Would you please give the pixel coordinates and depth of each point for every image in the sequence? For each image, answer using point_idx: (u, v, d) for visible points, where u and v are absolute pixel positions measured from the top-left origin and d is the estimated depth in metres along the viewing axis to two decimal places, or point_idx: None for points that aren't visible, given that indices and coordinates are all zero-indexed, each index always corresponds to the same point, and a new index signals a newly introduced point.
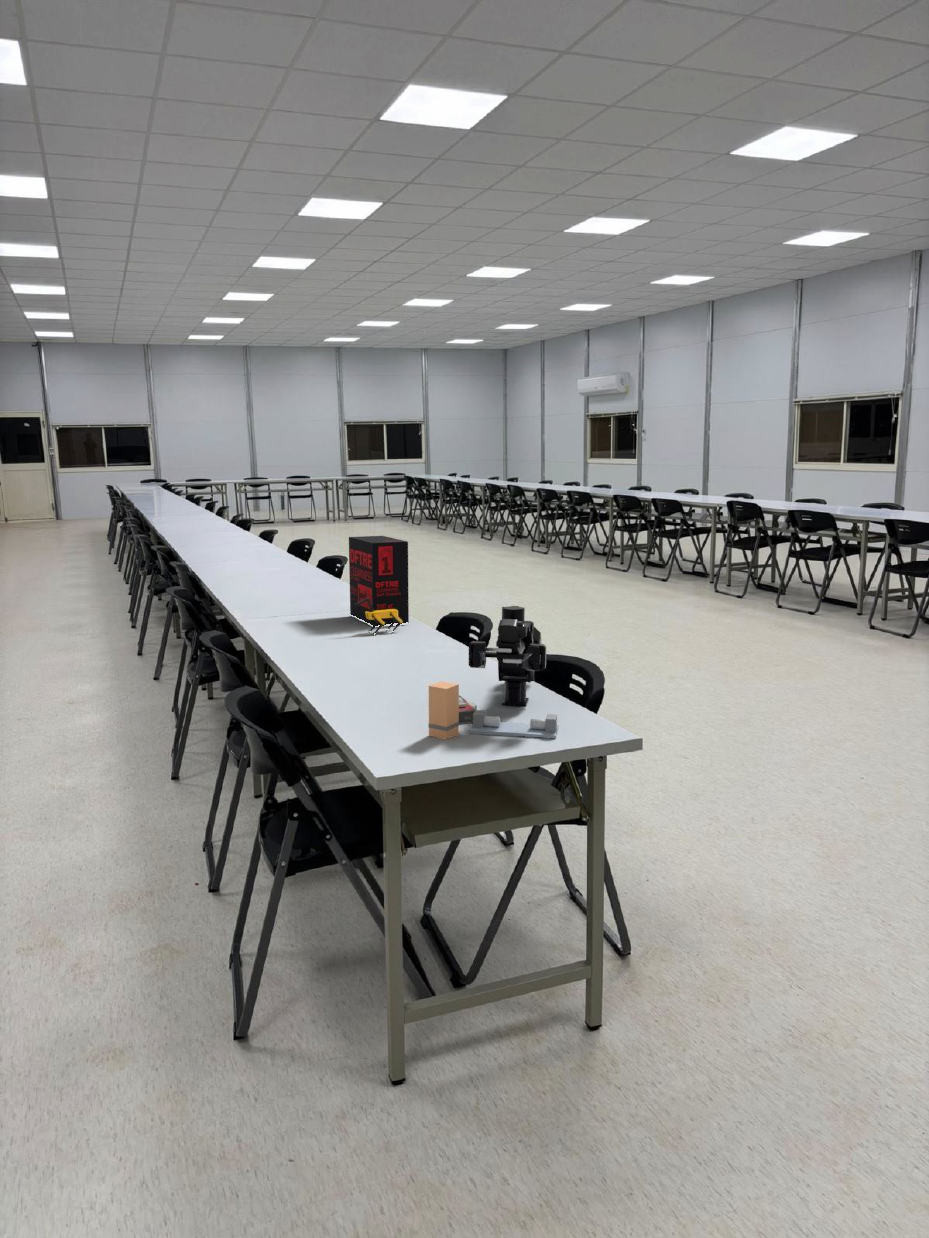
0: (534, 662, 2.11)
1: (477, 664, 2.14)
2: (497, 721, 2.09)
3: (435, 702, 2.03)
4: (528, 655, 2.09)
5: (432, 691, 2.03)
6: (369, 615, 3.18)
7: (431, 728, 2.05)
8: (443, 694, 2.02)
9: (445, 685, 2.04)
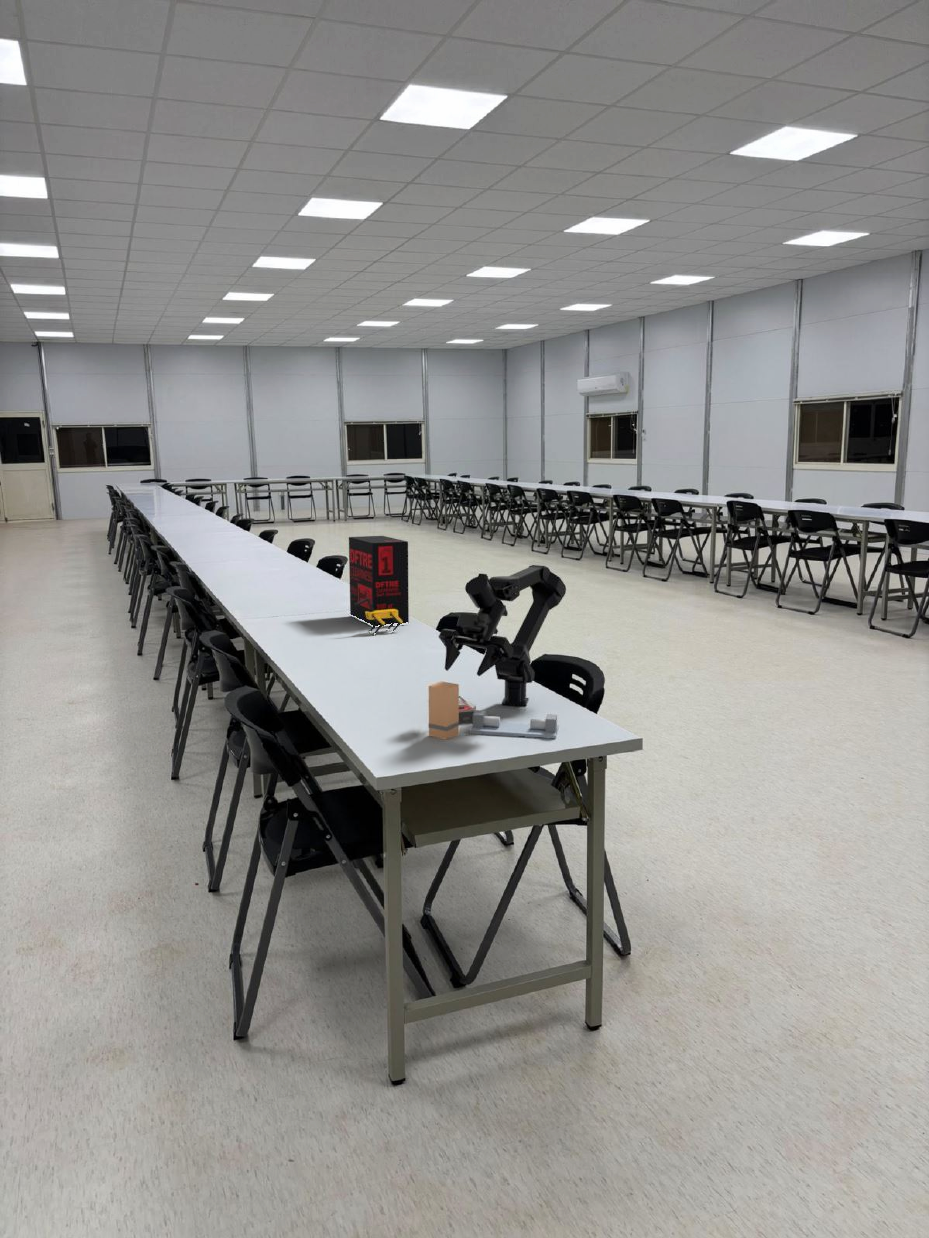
0: (497, 656, 2.10)
1: None
2: (497, 721, 2.09)
3: (435, 702, 2.03)
4: (486, 657, 2.08)
5: (432, 691, 2.03)
6: (369, 615, 3.18)
7: (431, 728, 2.05)
8: (443, 694, 2.02)
9: (445, 685, 2.04)
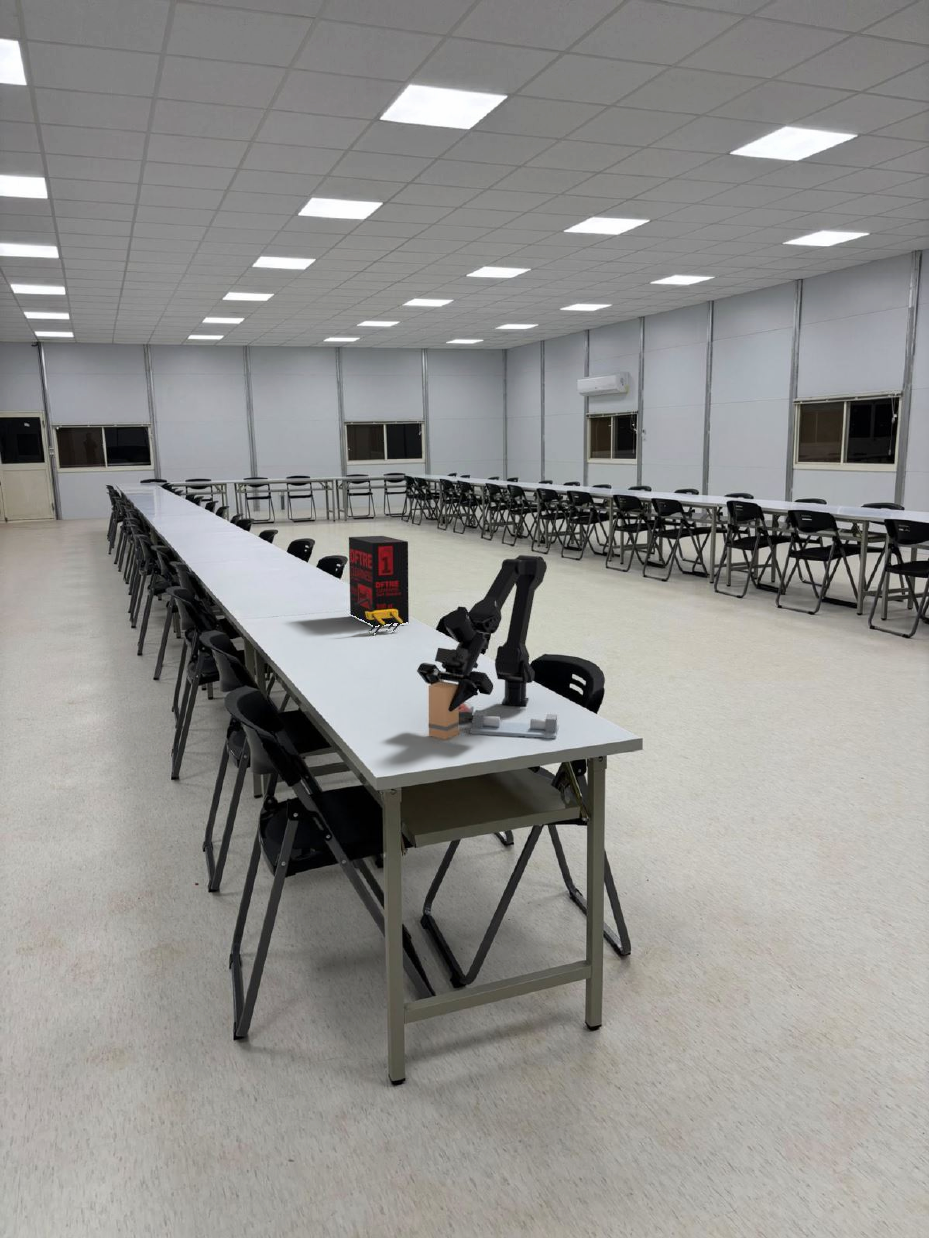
0: (470, 690, 2.05)
1: None
2: (497, 721, 2.09)
3: (435, 702, 2.03)
4: (458, 692, 2.03)
5: (432, 691, 2.03)
6: (369, 615, 3.18)
7: (431, 728, 2.05)
8: (443, 694, 2.02)
9: (445, 685, 2.04)
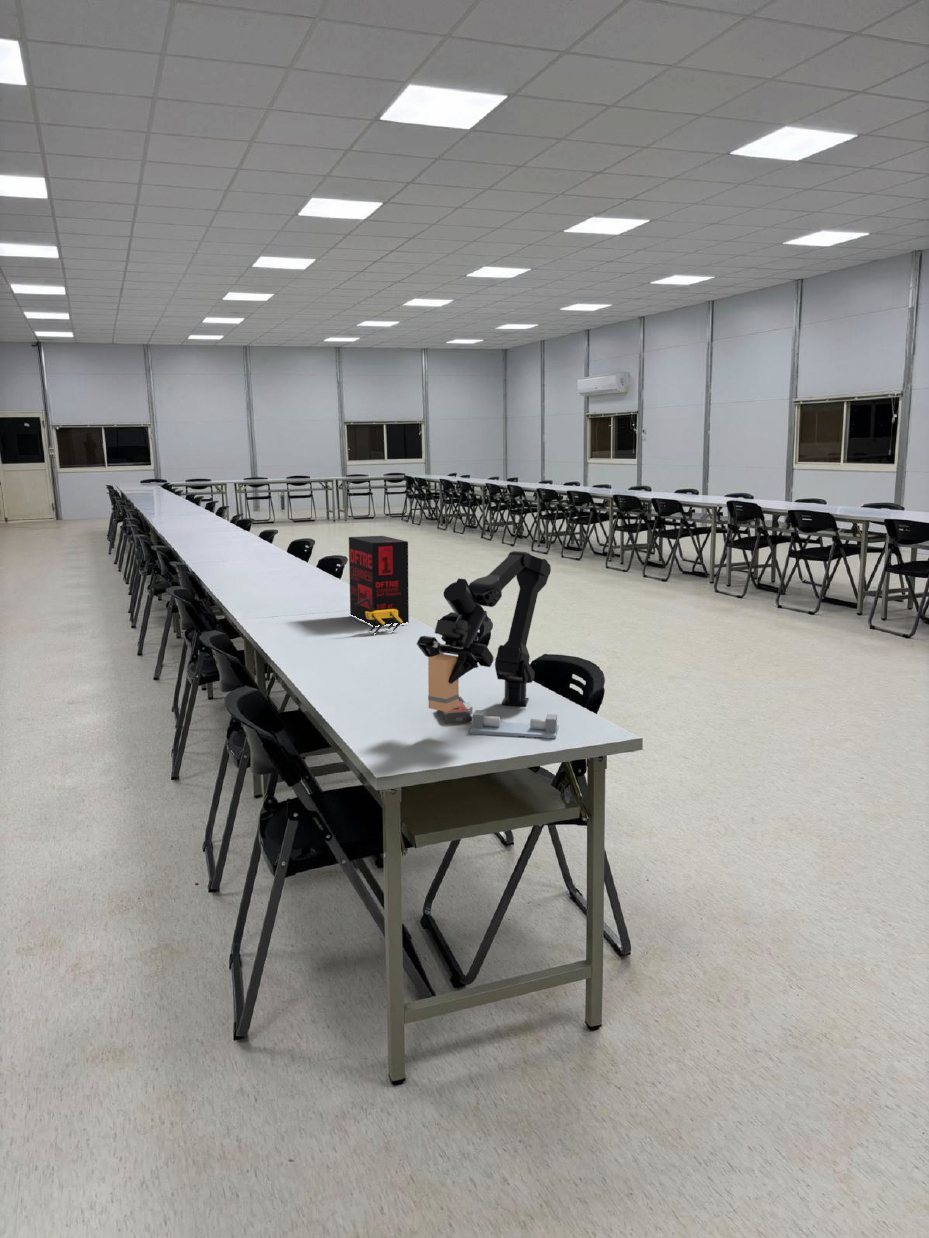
0: (470, 662, 2.04)
1: None
2: (497, 721, 2.09)
3: (435, 674, 2.02)
4: (458, 665, 2.02)
5: (432, 663, 2.02)
6: (369, 615, 3.18)
7: (431, 701, 2.04)
8: (443, 666, 2.00)
9: (445, 657, 2.03)
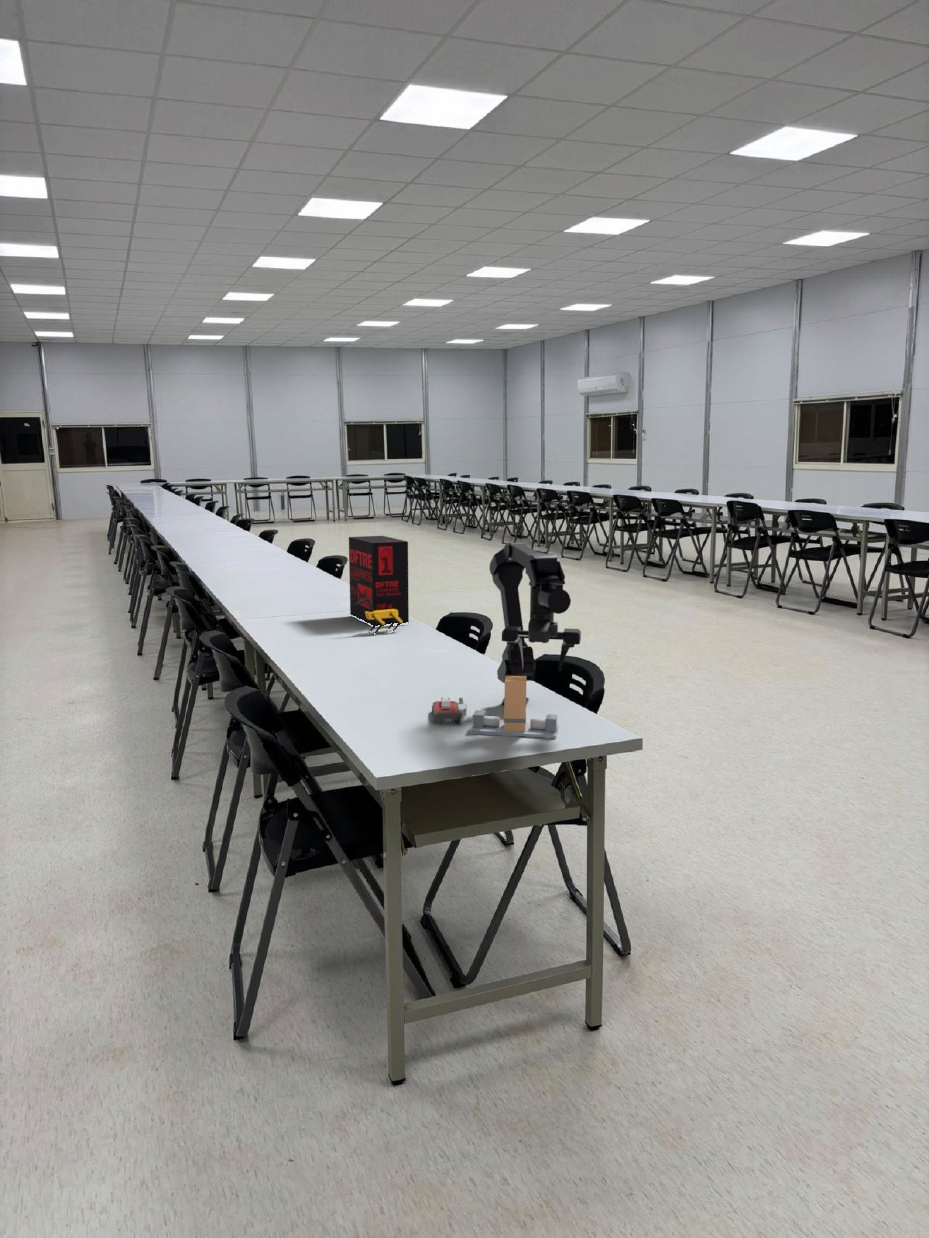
0: None
1: None
2: (497, 721, 2.09)
3: (512, 696, 2.06)
4: (563, 655, 2.12)
5: (509, 685, 2.05)
6: (369, 615, 3.18)
7: (507, 723, 2.07)
8: (522, 687, 2.05)
9: (518, 678, 2.07)
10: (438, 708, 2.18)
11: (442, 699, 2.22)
